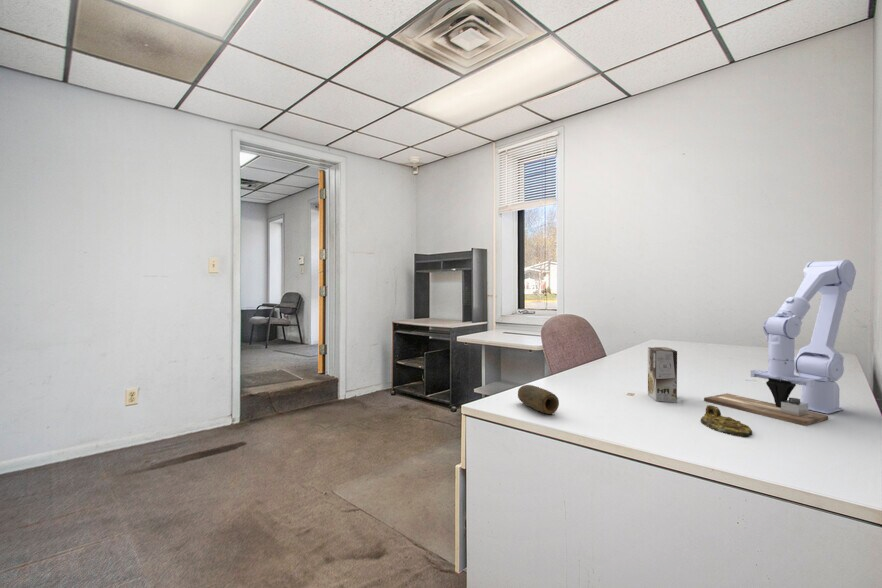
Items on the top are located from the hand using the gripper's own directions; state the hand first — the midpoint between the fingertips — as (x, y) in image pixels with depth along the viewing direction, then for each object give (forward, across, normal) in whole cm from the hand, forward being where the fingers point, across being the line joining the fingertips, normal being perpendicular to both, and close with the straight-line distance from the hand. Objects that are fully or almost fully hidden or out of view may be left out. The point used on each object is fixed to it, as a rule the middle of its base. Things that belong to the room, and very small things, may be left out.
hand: (780, 406), depth 116 cm
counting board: (+2, -5, 0) cm, 5 cm away
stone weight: (+2, -34, -59) cm, 68 cm away
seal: (+3, 0, -25) cm, 25 cm away
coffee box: (+2, -26, -15) cm, 30 cm away
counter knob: (+1, +3, 0) cm, 3 cm away
